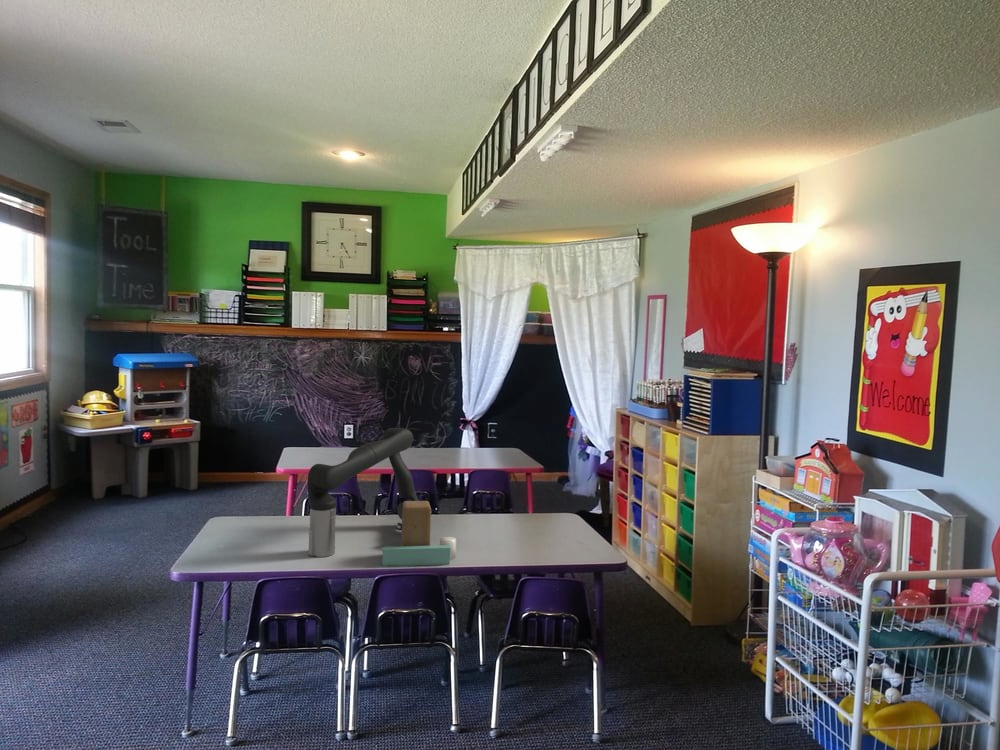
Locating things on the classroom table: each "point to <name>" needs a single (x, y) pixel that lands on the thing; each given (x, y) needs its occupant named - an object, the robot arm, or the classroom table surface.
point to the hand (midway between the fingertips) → (414, 532)
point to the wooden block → (416, 523)
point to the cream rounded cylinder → (451, 542)
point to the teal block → (416, 555)
